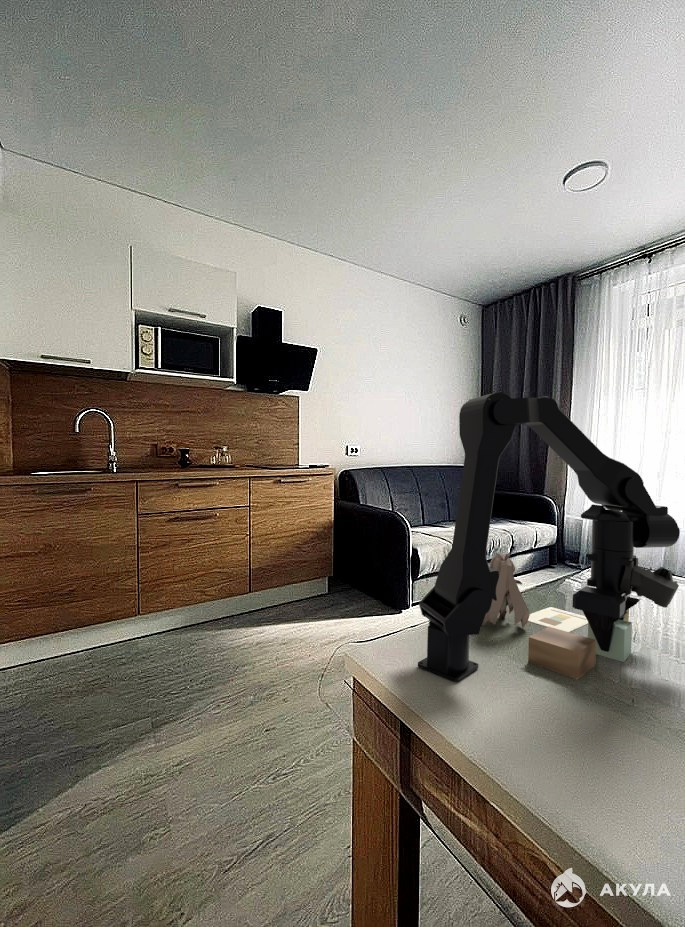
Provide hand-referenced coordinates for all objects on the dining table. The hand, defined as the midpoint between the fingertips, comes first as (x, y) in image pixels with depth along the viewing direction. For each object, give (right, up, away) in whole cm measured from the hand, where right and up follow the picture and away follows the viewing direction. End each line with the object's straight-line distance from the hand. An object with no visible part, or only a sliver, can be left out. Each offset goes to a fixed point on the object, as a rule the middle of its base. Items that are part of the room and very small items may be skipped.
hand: (609, 646), depth 71 cm
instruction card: (-1, -1, +15) cm, 15 cm away
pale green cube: (0, -1, 0) cm, 1 cm away
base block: (-10, -1, -4) cm, 11 cm away
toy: (-13, -1, +11) cm, 18 cm away
